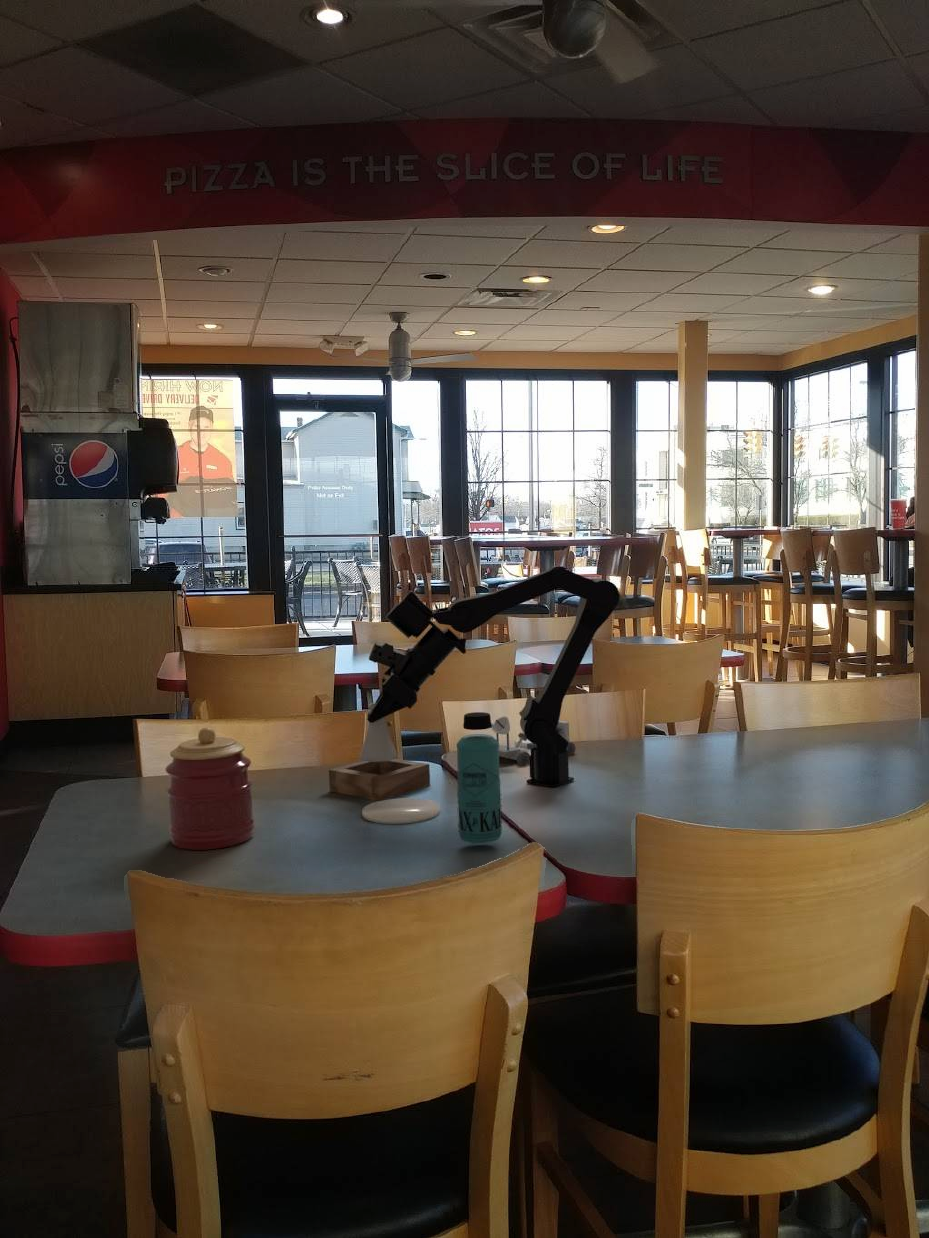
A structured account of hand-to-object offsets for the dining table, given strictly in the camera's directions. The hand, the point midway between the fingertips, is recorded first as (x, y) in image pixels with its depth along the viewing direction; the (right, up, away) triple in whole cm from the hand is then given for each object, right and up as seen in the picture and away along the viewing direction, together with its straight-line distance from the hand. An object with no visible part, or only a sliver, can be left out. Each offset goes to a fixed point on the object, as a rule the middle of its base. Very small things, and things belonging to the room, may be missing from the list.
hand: (369, 719), depth 187 cm
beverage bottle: (+20, -16, -34) cm, 42 cm away
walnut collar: (+2, -13, +4) cm, 13 cm away
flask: (+2, -7, +1) cm, 8 cm away
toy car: (+30, -11, +26) cm, 41 cm away
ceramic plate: (+7, -14, -14) cm, 21 cm away
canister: (-22, -17, -24) cm, 37 cm away
